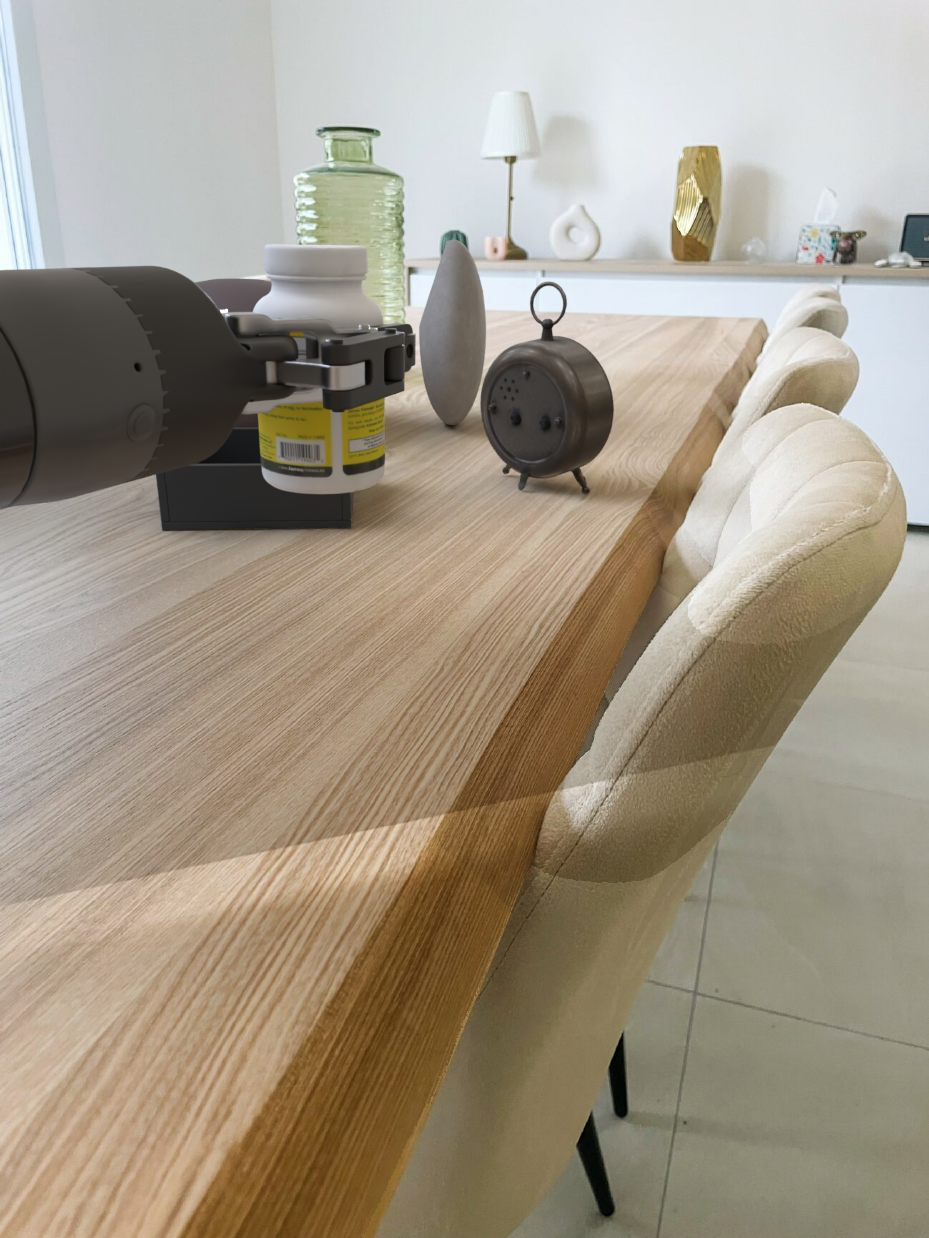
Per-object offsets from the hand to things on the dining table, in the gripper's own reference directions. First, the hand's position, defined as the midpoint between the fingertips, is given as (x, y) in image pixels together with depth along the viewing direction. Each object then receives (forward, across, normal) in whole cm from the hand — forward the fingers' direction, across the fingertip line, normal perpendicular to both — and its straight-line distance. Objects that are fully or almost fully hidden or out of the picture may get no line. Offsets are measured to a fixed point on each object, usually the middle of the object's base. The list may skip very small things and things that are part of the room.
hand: (347, 341), depth 46 cm
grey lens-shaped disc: (+51, +21, +15) cm, 57 cm away
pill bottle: (-2, 0, +7) cm, 7 cm away
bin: (+15, +18, +15) cm, 28 cm away
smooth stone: (+36, +37, +15) cm, 54 cm away
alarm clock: (+31, +2, +15) cm, 34 cm away
